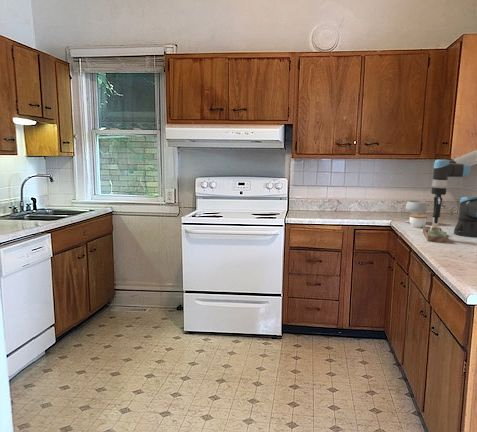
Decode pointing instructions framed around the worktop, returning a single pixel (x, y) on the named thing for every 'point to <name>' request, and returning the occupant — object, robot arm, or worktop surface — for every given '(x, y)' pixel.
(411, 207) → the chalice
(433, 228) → the birch block
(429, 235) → the two-trap track
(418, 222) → the lidded jar
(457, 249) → the worktop surface
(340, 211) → the worktop surface
